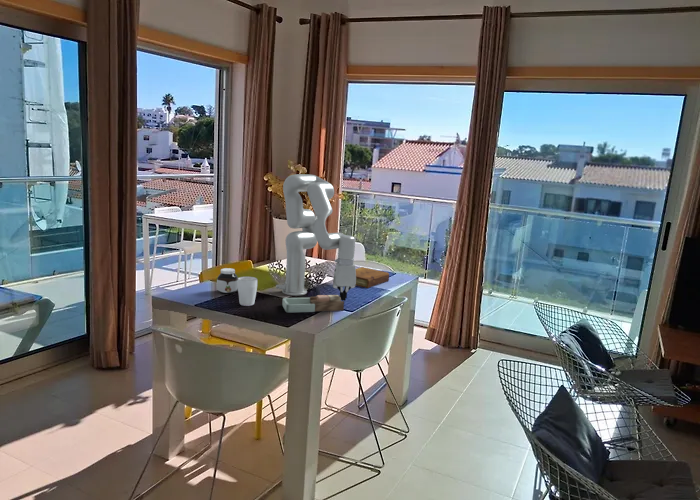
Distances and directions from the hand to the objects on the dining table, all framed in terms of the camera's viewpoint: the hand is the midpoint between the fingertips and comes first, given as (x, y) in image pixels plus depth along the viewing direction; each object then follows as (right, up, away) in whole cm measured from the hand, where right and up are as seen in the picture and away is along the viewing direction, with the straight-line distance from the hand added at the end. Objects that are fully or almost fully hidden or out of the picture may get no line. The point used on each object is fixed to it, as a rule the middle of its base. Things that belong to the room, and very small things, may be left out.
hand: (342, 299), depth 253 cm
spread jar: (-56, +2, +14) cm, 58 cm away
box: (-21, -4, -6) cm, 22 cm away
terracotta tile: (-9, -1, -3) cm, 10 cm away
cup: (-45, -2, -4) cm, 45 cm away
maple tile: (-4, -1, -1) cm, 4 cm away
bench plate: (-8, -4, -2) cm, 9 cm away
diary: (+12, +5, +54) cm, 55 cm away
